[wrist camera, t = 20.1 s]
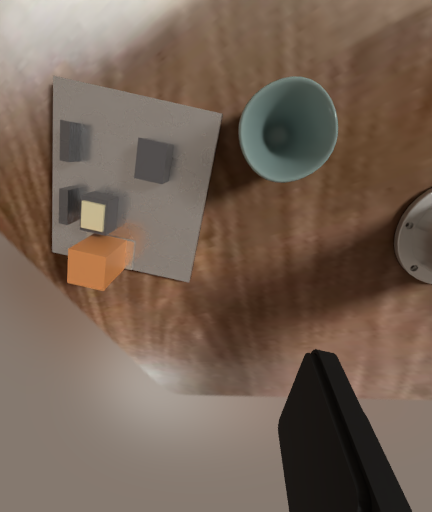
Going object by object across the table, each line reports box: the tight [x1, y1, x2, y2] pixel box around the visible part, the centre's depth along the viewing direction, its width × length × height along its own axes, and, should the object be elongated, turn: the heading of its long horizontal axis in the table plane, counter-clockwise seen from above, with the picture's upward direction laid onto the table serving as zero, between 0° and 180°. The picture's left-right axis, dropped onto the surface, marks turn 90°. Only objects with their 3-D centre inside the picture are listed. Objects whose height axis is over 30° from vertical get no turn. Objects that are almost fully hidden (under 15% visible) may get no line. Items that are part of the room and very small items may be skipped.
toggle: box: [134, 137, 174, 184], centre depth 31 cm, size 3×4×3 cm
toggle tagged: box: [80, 191, 119, 236], centre depth 33 cm, size 3×4×3 cm
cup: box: [238, 77, 338, 183], centre depth 28 cm, size 8×8×10 cm
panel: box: [52, 76, 223, 282], centre depth 33 cm, size 18×20×4 cm
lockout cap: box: [67, 233, 127, 291], centre depth 34 cm, size 4×4×6 cm
